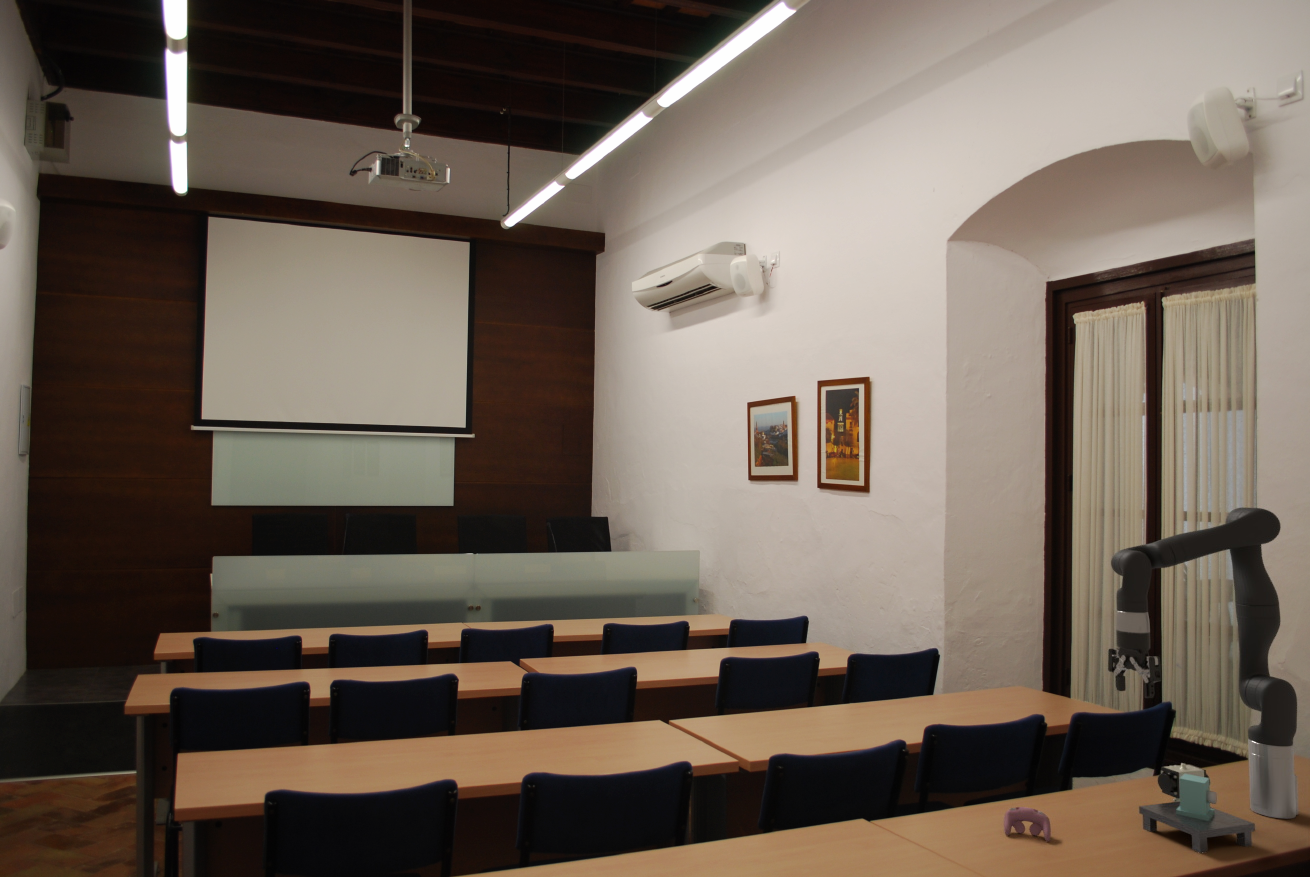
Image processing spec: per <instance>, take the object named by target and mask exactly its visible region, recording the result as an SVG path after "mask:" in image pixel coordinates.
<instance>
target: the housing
mask: <svg viewBox="0 0 1310 877" xmlns="http://www.w3.org/2000/svg"><path fill="white" fill-rule="evenodd" d="M1209 779H1210V777H1209V778H1205V777H1200V776H1195V775H1190V774H1184V775H1182V776H1181V777H1180V806H1179V807H1178V808H1177V809H1176V814H1178V815H1183V816H1187V817H1192V818H1196V819H1201V820H1205V821H1209V820H1210V819H1211V818H1212V817H1213V815H1214V814H1215V810H1214V809H1215V808H1214V809H1210V807H1211V804H1212V805H1216V804H1217V802H1218V801H1217V800H1218V795H1217V794H1218V793H1217V792H1216V791H1212V790H1211V788H1210V786H1211V782H1210V783H1209Z"/></svg>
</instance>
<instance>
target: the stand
mask: <svg viewBox="0 0 1310 877" xmlns="http://www.w3.org/2000/svg"><path fill="white" fill-rule="evenodd" d="M1179 806H1180V801H1179V802H1174V801H1172V802H1164V803H1163V802H1162V803H1155V804H1147V805H1145V804H1144V805H1139V806H1138V808H1139V809H1138V812H1139V814H1140V815H1142V829H1143V830H1145V831H1147V832H1158V822H1160V823H1162V824H1165V825H1167V826H1169V827H1172V828H1174V829H1177V830H1178V831H1181V832H1184V833H1186V834H1189V835H1191V845H1192V846H1191V850H1192V851H1193V852H1196V851H1197V852H1196V853H1198V852H1199V854H1203V853H1202V852H1207V853H1208V838H1213V837H1220V836H1221V837H1222V836H1227V835H1228V836H1229V835H1236V838H1235V839H1236V844H1237V845H1239V846H1242V847H1244V848H1247V847H1248V848H1249V847H1253V845H1252V844H1253V842H1252V841H1253V840H1252V832H1255V831H1256V823H1255V822H1251V821H1249V820H1247V819H1244V818H1241V817H1238V816H1236V815H1233V814H1231V813H1228V812H1224V811H1223V810H1219V809H1217V808H1214V807H1211V806H1210V809H1214V810H1215V814H1214V815H1213V817H1212V818H1211V819H1210V820H1209V821H1205V820H1201V819H1196V818H1192V817H1187V816H1183V815H1178V814H1176V809H1177V808H1178V807H1179Z"/></svg>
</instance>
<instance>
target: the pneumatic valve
mask: <svg viewBox="0 0 1310 877" xmlns="http://www.w3.org/2000/svg"><path fill="white" fill-rule="evenodd" d="M1184 774H1190V775H1195V776H1200V777H1205V778H1209V783H1210V784H1211V779H1210V776H1209V775H1208V773H1207V770H1206V769H1204V768H1201V767H1198V766H1196V765H1192V764H1186V763H1185V762H1184V763H1183V762H1182V763H1180V765H1177V764H1174V765H1169V766H1167V765H1166V766H1161V767H1160V774H1159V775H1158V776H1157V784H1158V786H1159V788H1160V790H1161V794H1165V795H1167V796H1169V797H1173V799H1172V802H1179V801H1180V777H1181V776H1182V775H1184Z"/></svg>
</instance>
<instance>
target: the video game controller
mask: <svg viewBox="0 0 1310 877" xmlns="http://www.w3.org/2000/svg"><path fill="white" fill-rule="evenodd" d="M1024 822H1028V823H1031V825H1030V826H1029V832H1030V834H1031V835H1032V836H1034V835H1035V836H1034V837H1038V836H1039V835H1041V833H1042V832H1043V837H1044V840H1045V842H1046V841H1047V843H1049V842H1050V840H1051V834H1052V831H1051V830H1052V829H1051V828H1052V827H1051V822H1050V818H1049V817H1048V816H1047V815H1046V814H1045V813H1044V812H1043V811H1041V810H1038V809H1035V808H1032V807H1027V806H1018V807H1011V808H1009V809H1008V810H1007V811H1006V812H1005V814H1004V818H1003V830H1004V834H1005V835H1006V836H1007V835H1009V834H1011V833H1012V828H1014V830H1015V831H1016V833H1017V832H1018V834H1023V833H1025V831H1026V826H1025V824H1024ZM1037 835H1038V836H1037ZM1009 836H1010V835H1009Z"/></svg>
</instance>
